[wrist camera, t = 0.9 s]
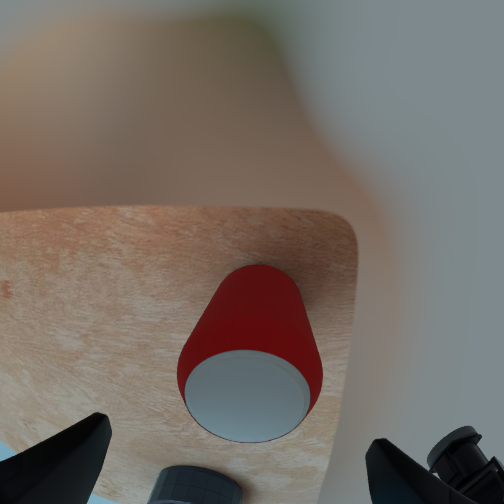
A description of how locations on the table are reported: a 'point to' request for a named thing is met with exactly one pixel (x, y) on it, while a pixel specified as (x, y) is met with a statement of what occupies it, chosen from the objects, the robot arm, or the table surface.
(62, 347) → the table surface
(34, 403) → the table surface
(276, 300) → the beverage can
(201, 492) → the pot
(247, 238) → the table surface
